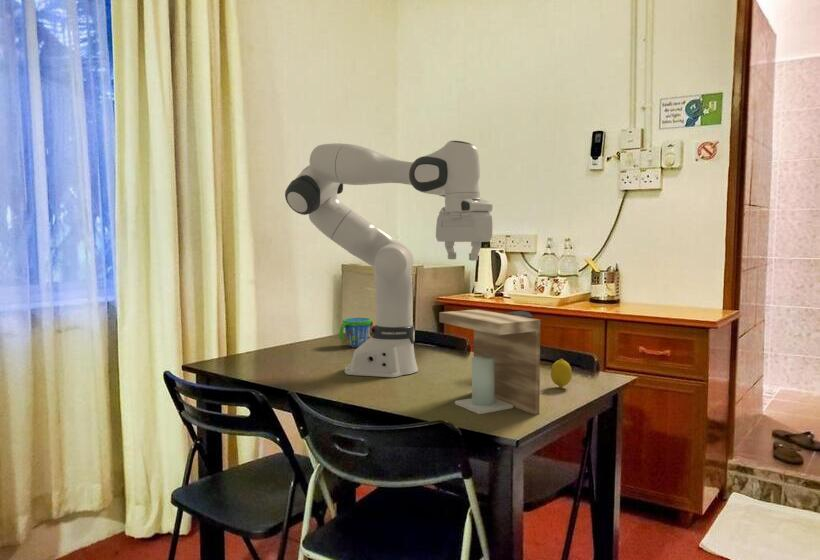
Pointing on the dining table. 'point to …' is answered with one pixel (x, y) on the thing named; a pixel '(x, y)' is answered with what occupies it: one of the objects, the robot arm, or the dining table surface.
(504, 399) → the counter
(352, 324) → the snack cup
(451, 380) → the dining table surface
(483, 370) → the pale green cylinder
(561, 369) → the lemon
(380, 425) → the dining table surface
